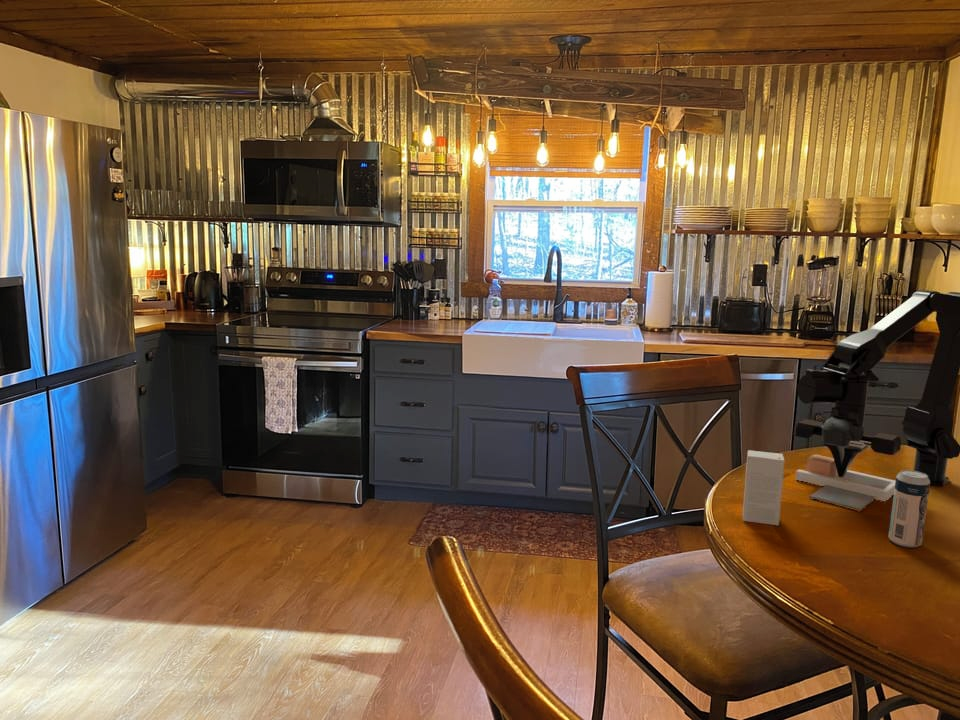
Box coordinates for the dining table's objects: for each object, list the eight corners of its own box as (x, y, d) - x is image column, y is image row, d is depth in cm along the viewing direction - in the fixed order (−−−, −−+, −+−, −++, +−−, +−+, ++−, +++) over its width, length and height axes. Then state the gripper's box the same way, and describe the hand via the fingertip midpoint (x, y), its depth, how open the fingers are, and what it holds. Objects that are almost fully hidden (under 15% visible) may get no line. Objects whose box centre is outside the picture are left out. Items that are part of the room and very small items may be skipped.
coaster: (825, 487, 144) (826, 484, 144) (874, 499, 138) (874, 496, 138) (809, 498, 138) (810, 495, 138) (860, 511, 132) (860, 508, 131)
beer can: (926, 550, 116) (936, 480, 113) (894, 547, 116) (903, 477, 114) (914, 538, 120) (923, 470, 118) (883, 535, 121) (892, 468, 119)
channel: (810, 470, 155) (811, 461, 154) (897, 490, 143) (898, 481, 143) (795, 480, 148) (796, 470, 148) (884, 502, 137) (886, 492, 136)
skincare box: (777, 517, 128) (784, 453, 126) (778, 526, 124) (785, 460, 122) (741, 512, 130) (747, 449, 128) (741, 521, 126) (747, 456, 124)
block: (812, 474, 152) (814, 454, 151) (834, 479, 149) (837, 458, 148) (805, 479, 149) (807, 458, 148) (827, 484, 146) (830, 463, 145)
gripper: (787, 400, 144) (780, 474, 146) (890, 418, 131) (880, 498, 134) (807, 392, 152) (799, 463, 154) (906, 408, 139) (896, 484, 142)
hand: (841, 476), depth 146 cm, fingers closed
